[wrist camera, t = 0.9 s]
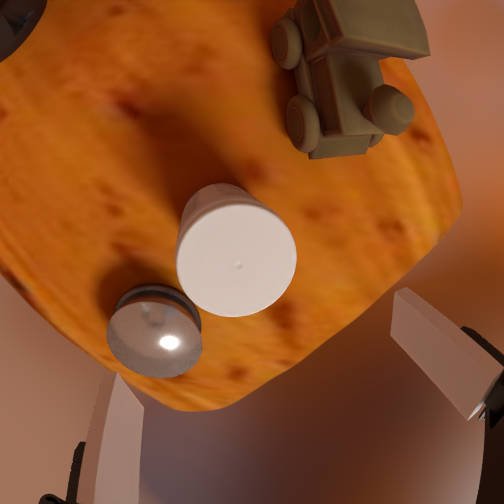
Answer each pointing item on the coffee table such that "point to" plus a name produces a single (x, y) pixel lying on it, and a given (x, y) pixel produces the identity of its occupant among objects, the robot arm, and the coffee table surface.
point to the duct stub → (155, 331)
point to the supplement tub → (233, 252)
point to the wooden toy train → (346, 71)
